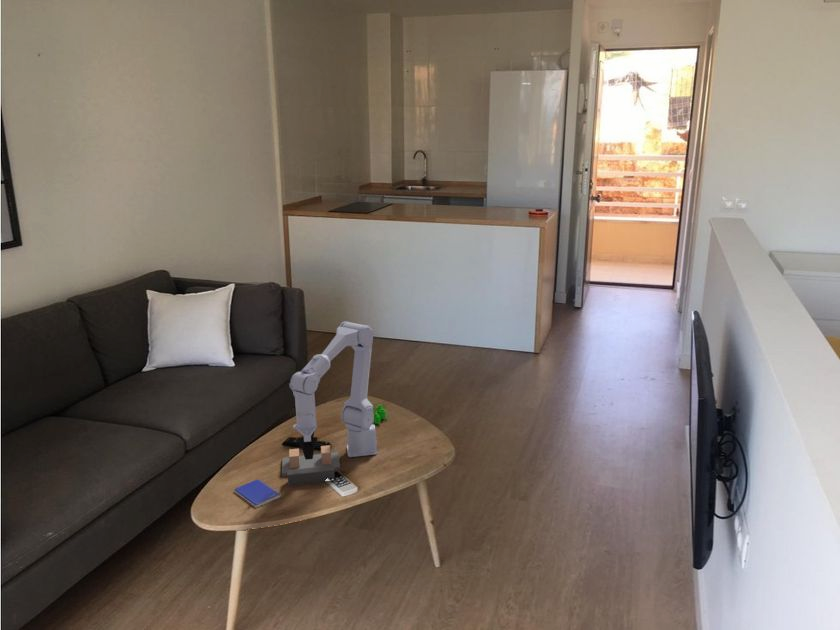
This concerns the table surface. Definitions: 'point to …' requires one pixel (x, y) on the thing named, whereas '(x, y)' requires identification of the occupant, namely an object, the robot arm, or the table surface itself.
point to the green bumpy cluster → (379, 412)
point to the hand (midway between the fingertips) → (308, 452)
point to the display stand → (310, 460)
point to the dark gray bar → (310, 475)
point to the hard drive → (257, 493)
